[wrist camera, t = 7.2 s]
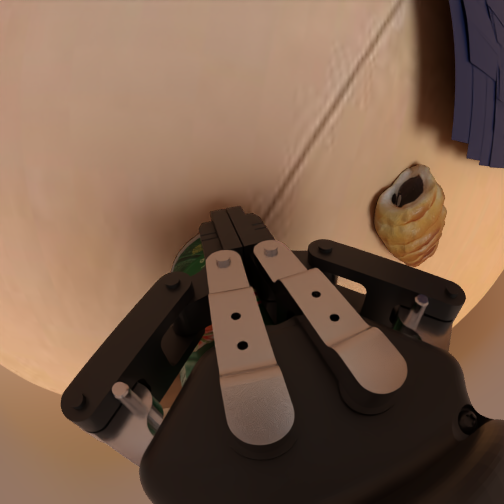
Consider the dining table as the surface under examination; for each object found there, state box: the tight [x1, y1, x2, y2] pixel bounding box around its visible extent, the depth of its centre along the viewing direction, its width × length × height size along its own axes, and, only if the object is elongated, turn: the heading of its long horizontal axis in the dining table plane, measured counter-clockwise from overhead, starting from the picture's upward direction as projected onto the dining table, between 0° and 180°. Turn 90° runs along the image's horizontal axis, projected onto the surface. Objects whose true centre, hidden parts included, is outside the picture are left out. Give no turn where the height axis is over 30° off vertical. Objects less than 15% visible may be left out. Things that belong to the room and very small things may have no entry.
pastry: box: [374, 165, 447, 267], centre depth 19 cm, size 9×7×4 cm
